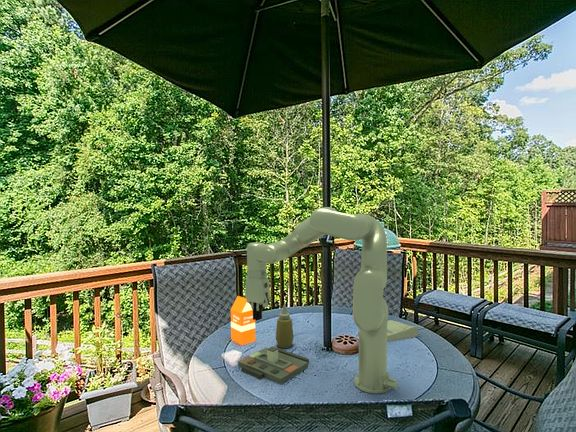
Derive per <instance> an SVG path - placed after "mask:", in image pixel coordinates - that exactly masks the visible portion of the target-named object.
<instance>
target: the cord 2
mask: <svg viewBox="0 0 576 432" xmlns="http://www.w3.org/2000/svg"><path fill="white" fill-rule="evenodd" d="M274 347H275V348H277V347H276V346H274ZM278 352H280V353H283V354H285V355H288V356H291V357H294V358H297V359H300V360H302V361H305V362H308V364H309V362H310V359H309V358H307V357H304V356H302V355H298V354H295V353H294V352H293V353H292V352H289V351H288V350H287V351H286V350H284V349H281V348H278Z"/></svg>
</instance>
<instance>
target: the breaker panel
mask: <svg viewBox="0 0 576 432" xmlns="http://www.w3.org/2000/svg"><path fill="white" fill-rule="evenodd" d="M268 348H269V347H264V348H262V349H260V350H258V351H256V352H253V353H252V354H250V355H248V356H246V357H244V358H242V359H239V360H238V361H237V366H238V367H239V368H241V367H243V366H247V367H249V368H251V369H254V370H256V371H259V372H261V373H263V374H264V378H265V379H266V380H270V381H272V382H274V383H276V384H279V385H283V384H284V383H285V382H286V383H287V381H289V380H291V379H292V378H294V377H295V376H297V375H299V374H301V373H302V372H303V371H304V370H306V369H308V367H309V363H308V362H305V361H302V360H300V359H297V358H294V357H291V356H288V355H285V354H283V353H280V352H278V361H277V362H276V363H272V362H270V361H267V349H268Z"/></svg>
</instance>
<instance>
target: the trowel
mask: <svg viewBox="0 0 576 432" xmlns="http://www.w3.org/2000/svg"><path fill="white" fill-rule="evenodd" d="M418 328H419V327H418V326H416V325H409V324H406V323H403V322H400V321H396V320H393V319H388V324H387V343H388V342H389V343H390V342H393V341H398V340H399V341H400V340H404V339H411V338H417V337H418V336H419V334H418V333H419V329H418ZM357 336H358V337H359V332H358V334H357Z"/></svg>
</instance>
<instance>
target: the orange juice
mask: <svg viewBox="0 0 576 432" xmlns="http://www.w3.org/2000/svg"><path fill="white" fill-rule="evenodd" d="M230 338H231V339H230V340H231V341H234V342H235V343H236V344H238V345H240V346H244V345H247V344H250V343H253V342H255V341H256V320H253V310H252V309H251V305H250V304H249V303H247V301H246V297H243V296H239V295H237V297H236V298H235V300H234V302H233V304H232V305H231V308H230Z"/></svg>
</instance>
